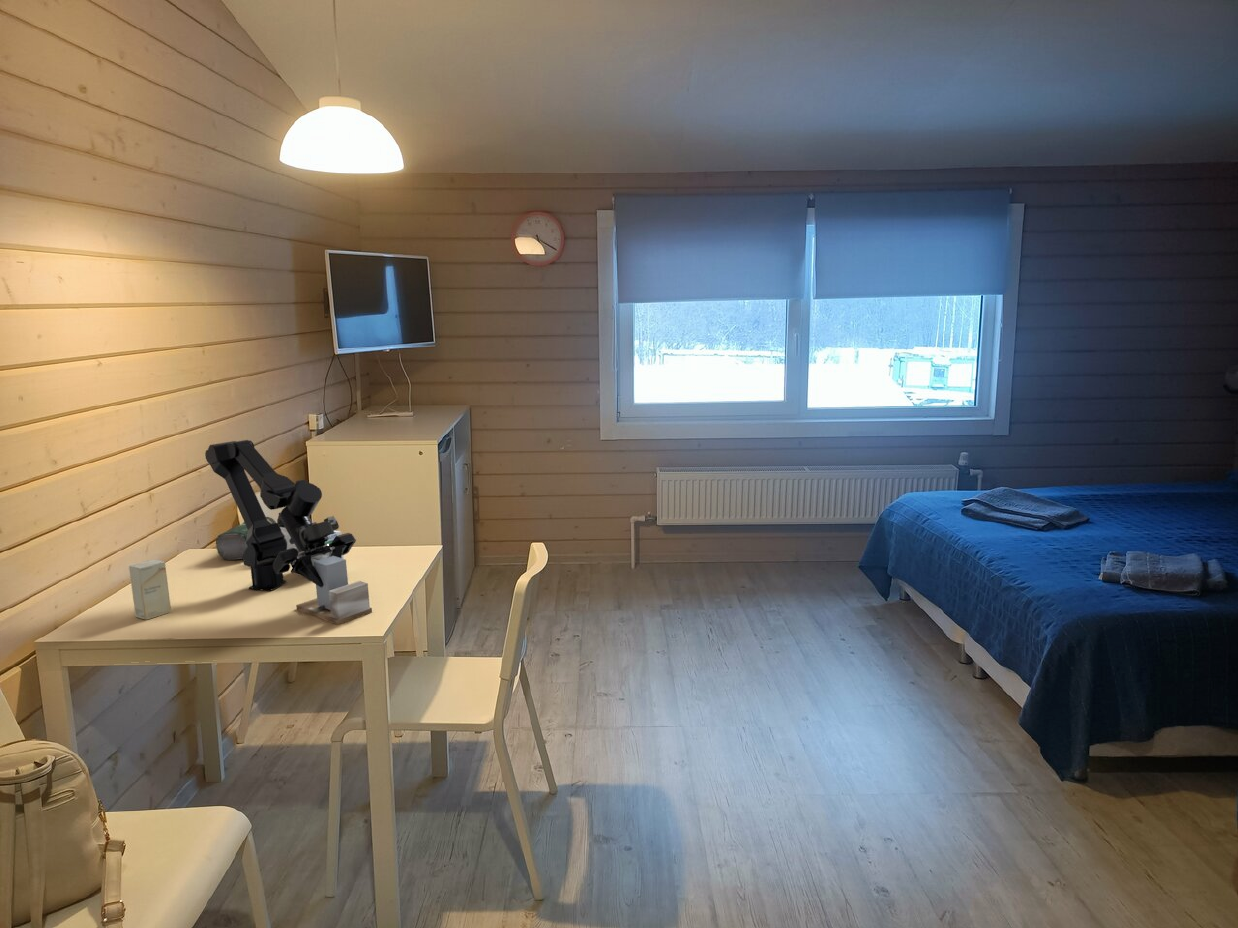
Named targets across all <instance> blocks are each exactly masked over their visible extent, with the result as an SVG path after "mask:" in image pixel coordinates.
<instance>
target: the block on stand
mask: <svg viewBox="0 0 1238 928" xmlns="http://www.w3.org/2000/svg"><path fill="white" fill-rule="evenodd" d="M369 595H370V594H369V584H368V582H365V581H362V580H358V581H356V582H352V583H348V585H345V586H342V587H339V588H336V589H333V590H330V591H329V599H330V610H329V609H326V608H324V609H321V610H318V607H319V606H318V602H317V597H316V598H313V599H310V600H308V601H304V602H301V603H298V604H296V605H295V607H296V610H298V611H301V612H303V613H306V614H308V615H311V616H313V617H316V618H319V619H322V620H324V621H326V620H327V622H329V623H332V624H335V625H338V626H339V625H341V624H343V623H346V622H348V621H352V620H354V619H357V618H360V617H362V616H365V615H369V614H371V613H373V608H372V607H371V605H370V596H369Z"/></svg>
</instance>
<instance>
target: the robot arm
mask: <svg viewBox="0 0 1238 928" xmlns="http://www.w3.org/2000/svg"><path fill="white" fill-rule="evenodd" d="M204 454H205V459H206V460H205V461H206V463H208V464H209V466H210V468H211V469H212V471H213V473H214V474H216V475H218V476H220V477H221V478H222V479H224V481H225V482H226V485H227V488H228V489H229V491H230V493H231V495H232V496H231V497H232V498H233V499H234V502H235V505H236V506H237V509H238V511H239V514H240V515H241V517H242V520H243V522H245V524H246V526H247V529H248V533H247V538H246V544H247V549H246V551H245V552H244V554H243V556H242V559H241V560H242V563H243V564H244V566H247V567H248V568H250V574H251V584H252V585H250V586H249V587H248V590H254V591H268V592H269V591H274V590H276V589H277V588H279V587H280V586H281V587H282V585H284V584H286V583H287V580H286V579H284V573H288V572H289V571H290V573H291V574H297V575H298V576H301V577H303V578H305V579H306V580H309V581H310V582H311V583H313V584H314V585H315V586H316V585H318V586H319V587H323V585H324V584H323V582H322V579H321V577H320V576H319V574H318V572H317V571H316V569H315V568H314V566H313V564H312V560H311V557H315V556H318V555H322V554H326V555H327V556H328V557H330V556H336V557H339V558H342V555H343V556H344V555H346V554H348V553H349V552H350V550H351V549H352V547H353V546H354V545H355V544H356V542H357V539H356V538H355V536H354V534H353V533H350V532H346V533H341V535H338V536H336V537H335V538H334V540H333V541H332V543H330V544H326V545H325V542H326V541H327V540H328V539H329V538H328V536H329V535H330V534H334V531H335V530H337V531H338V530H339V528H340V526H339V522H338V520H337V519H336V517H335V516H334V515H332V516H328V517H326V518H324V519H323V521H321V522H316V521H314V522H313V521H312V520H311V518H310V516H312V514H313V513H314V511H315V509H316V508H317V506H318V504H319V503H320V500H321V499H322V497H323V494H322V493H323V492H322V490H321V488H320V487H318V486H317V485H316V484H314V483H310V482H307V480H306V479H305V478H304V479H298V480H296V482H294V481H293V480H291V479H290V478H289V477H288V476H285V475H282V474H279V473H278V472H276V471H275V469H273V467H272V466H271V465H270V464H269V462H267V460H266V459H265V458H264V457H263V456H262V454H260V452H259V451H258V450H257V449H256V448H255V444H254V442H253V441H252V440H249V439H244V440H243V439H242V440H238V441H237V440H231V441H227V442H219V443H213V444H209V446H208V448H207V449H206V451H205V453H204ZM247 474H248V475H249V476H250V478H251V479H252V480H253V481H254V482H255V484H256V485H257V486H258V487H259V489H260V491H259V493H260V495H259V496H260V499H261V500H262V502H263V504H264V505H265V506H266V507H267V508H268V510H271V511H272V510H273V511H275V510H278V509H282V510H281V511H280V512H279V513H278V516H279V517H278V516H277V519H276V523H273V524H272V523H270V522H269V521H268V520H267V519H266V517H267V516H266V515H265V512H264V510H263V508H262V506H261V504H260V502H259V499H258V497H257V495H256V492H255V490H254V488H253V486H252V484H251V481H250V480H249V477H248V475H247ZM280 524H283V525H284V527H285V528H286V530H287V532H288V534H289V535H290V537H291V539H290V540H289V542H290V543H291V544H295V546H296V547H297V549H298V551H297V549H295V548H291V549H287V541H286V539H285V536H284V534H283V533H282V531H281V529H280V526H279V525H280ZM290 569H291V570H290Z"/></svg>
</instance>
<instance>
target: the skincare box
mask: <svg viewBox="0 0 1238 928" xmlns="http://www.w3.org/2000/svg"><path fill="white" fill-rule="evenodd" d="M128 570H129V578H130V583H131V584H130V585H131V592H132V600H133V606H134V608H133V609H134V615H135V618H138V619H142V620H146V621H147V620H150V619H153V618H157V617H160V616H163V615H166V614H169V613H171V612H172V607H171V606H172V605H171V599H170V591H169V590H170V589H169V583H168V576H167V575H168V574H167V568H166V561H164V560H161V559H157V558H153V559H151V560H150V559H149V560H146V561H142V562H139V563H135V564H132V565H128Z"/></svg>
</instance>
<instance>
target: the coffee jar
mask: <svg viewBox="0 0 1238 928" xmlns="http://www.w3.org/2000/svg"><path fill="white" fill-rule="evenodd" d="M266 519H267V520H268V521H269V522H270V523H272V524H273V523H277V520H275V519H274V518H272V517H270V516H266ZM247 533H248V529H247V526H246V524H245V522H244V521H243V522H242V523H241V524H238V525H237V526H234V527H233V528H230V529H229V530H227V531H224V532H222V533H220V534H219V535H217V536H216V539H215V548H216V551H217V553H218V555H219V557H221V558H222V559H224V560H229V561H235V560H243V559H242V556H243V554H244V552H245V551H246V549H247V544H246V538H247Z"/></svg>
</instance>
